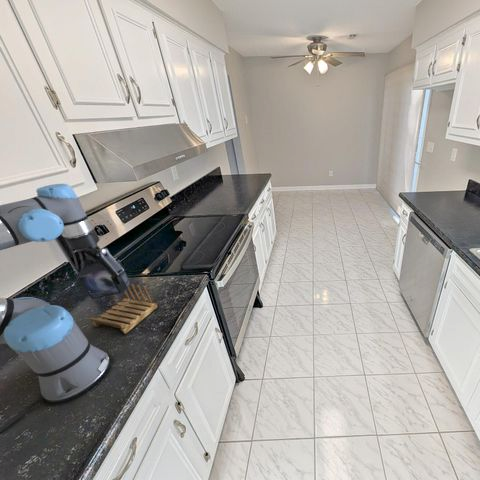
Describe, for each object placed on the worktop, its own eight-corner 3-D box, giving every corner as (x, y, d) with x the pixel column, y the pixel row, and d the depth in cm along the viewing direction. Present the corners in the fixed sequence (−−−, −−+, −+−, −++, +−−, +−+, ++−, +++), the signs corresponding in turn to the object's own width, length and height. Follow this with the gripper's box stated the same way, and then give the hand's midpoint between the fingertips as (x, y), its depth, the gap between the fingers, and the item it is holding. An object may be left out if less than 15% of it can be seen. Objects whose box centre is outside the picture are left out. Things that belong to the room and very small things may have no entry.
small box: (90, 300, 87) (74, 275, 82) (99, 288, 92) (85, 264, 87) (124, 293, 89) (111, 268, 84) (131, 282, 95) (119, 258, 90)
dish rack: (125, 334, 89) (112, 311, 84) (94, 326, 93) (80, 304, 88) (157, 306, 101) (147, 285, 96) (129, 301, 105) (118, 280, 100)
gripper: (119, 231, 80) (145, 285, 90) (66, 226, 86) (96, 277, 96) (95, 242, 73) (126, 299, 84) (40, 236, 80) (75, 290, 90)
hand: (110, 287), depth 90 cm, fingers closed on small box, 12 cm apart
